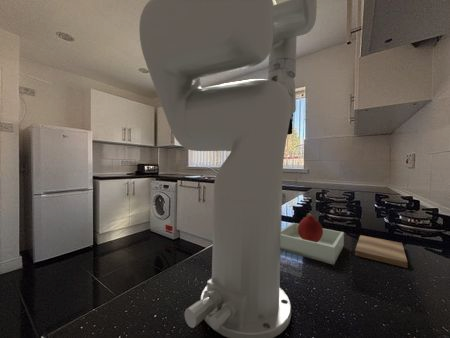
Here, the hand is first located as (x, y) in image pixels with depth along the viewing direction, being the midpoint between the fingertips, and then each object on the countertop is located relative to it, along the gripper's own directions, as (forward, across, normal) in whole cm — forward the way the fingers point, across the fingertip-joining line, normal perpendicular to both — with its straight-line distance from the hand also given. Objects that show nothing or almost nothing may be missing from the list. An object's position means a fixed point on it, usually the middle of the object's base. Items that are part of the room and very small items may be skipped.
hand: (280, 131), depth 57 cm
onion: (+30, -1, -9) cm, 31 cm away
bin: (+30, -1, -9) cm, 32 cm away
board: (+30, +8, -23) cm, 39 cm away
